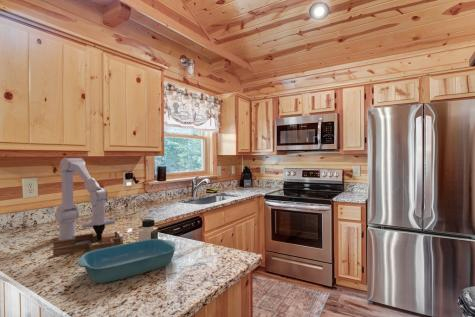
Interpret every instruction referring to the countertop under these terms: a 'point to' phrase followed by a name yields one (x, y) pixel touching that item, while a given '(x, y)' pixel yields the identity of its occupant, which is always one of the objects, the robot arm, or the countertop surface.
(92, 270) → the casserole dish
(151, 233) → the medicine bottle
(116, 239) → the trap lane
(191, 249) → the countertop surface
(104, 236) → the block
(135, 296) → the countertop surface
